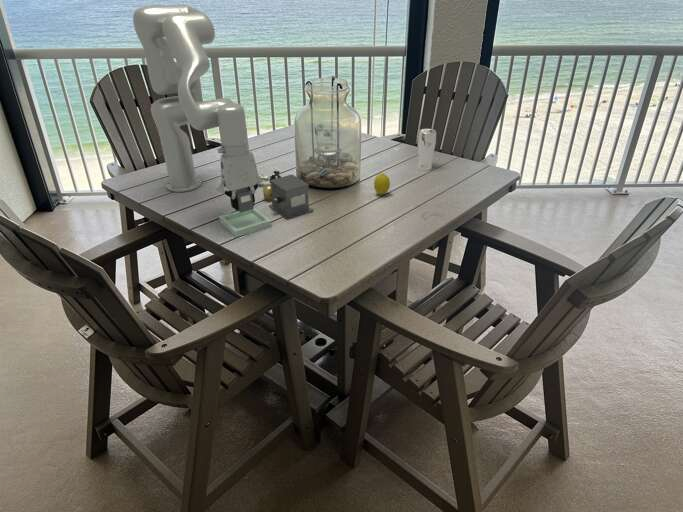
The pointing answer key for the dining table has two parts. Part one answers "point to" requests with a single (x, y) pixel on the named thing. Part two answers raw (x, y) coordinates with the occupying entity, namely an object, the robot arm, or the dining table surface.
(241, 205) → the block
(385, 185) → the lemon
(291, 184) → the box
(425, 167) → the beer glass
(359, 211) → the dining table surface
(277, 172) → the valve
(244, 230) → the tray
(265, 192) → the cylinder
